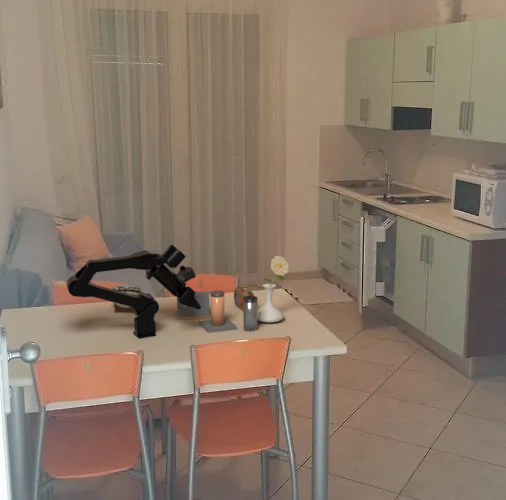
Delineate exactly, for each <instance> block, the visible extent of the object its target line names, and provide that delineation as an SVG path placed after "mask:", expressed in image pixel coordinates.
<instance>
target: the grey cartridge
mask: <svg viewBox="0 0 506 500" xmlns="http://www.w3.org/2000/svg"><path fill="white" fill-rule="evenodd" d="M257 311H258V296H255V295H254V296H245V297H244V311H243V316H242V317H243V326H242V329H243V331H244V332H247V331H250V332H249V333H252V332H251V331H254V332H256V331H255V330H257V331H258V320H257Z"/></svg>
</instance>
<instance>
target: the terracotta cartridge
mask: <svg viewBox="0 0 506 500" xmlns="http://www.w3.org/2000/svg"><path fill="white" fill-rule="evenodd" d="M210 311H211V319H210V320H211V325H213V326H222V325H224V324H225V320H224V318H225V291H223V290H218V289H217V290H212V291H210Z"/></svg>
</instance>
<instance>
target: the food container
mask: <svg viewBox="0 0 506 500" xmlns="http://www.w3.org/2000/svg"><path fill="white" fill-rule="evenodd" d="M110 289H113V290H117V291H120V292H124V293H128V294H131V295H139V291H141V292H143V291H142V289H141V287H140V286H139V285H135V284H121V285H119V284H118V285H114V286H113V287H111V288H110ZM112 304H113V310H114V313H115V314H131V315H132V314H134V315H135V313H134V308H133V307H130V306H126V305H122V304H118V303H115V302H112Z"/></svg>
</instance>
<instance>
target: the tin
mask: <svg viewBox="0 0 506 500" xmlns="http://www.w3.org/2000/svg"><path fill="white" fill-rule="evenodd" d="M245 296H255V295H254V292H253V291H252V290H250V289H248V288H246V287H244V286H236V287H235V288H234V291H233V301H234V304H235V306H236V307H237V308H238V309H240V310H242V311H243V312H244V297H245Z"/></svg>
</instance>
